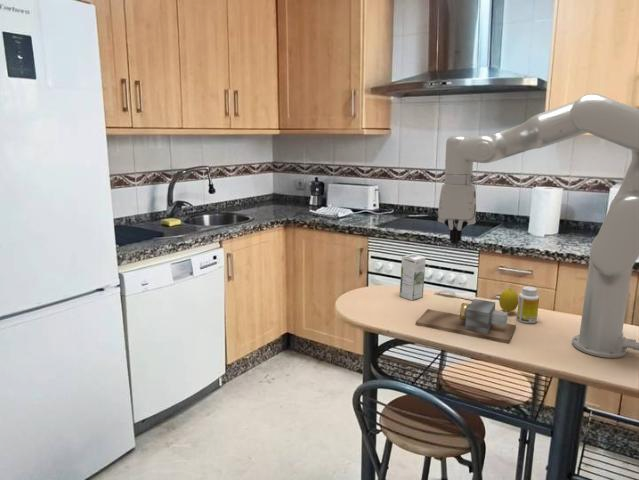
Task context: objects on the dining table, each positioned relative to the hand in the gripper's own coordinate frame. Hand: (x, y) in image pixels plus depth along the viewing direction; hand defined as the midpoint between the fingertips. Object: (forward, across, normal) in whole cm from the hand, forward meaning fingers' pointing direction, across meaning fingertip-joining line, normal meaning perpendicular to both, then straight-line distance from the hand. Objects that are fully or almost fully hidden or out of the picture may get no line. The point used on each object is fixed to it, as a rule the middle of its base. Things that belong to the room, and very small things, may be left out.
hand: (455, 242), depth 145 cm
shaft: (+22, -10, +4) cm, 24 cm away
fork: (+24, +1, -20) cm, 32 cm away
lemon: (+24, -14, -13) cm, 31 cm away
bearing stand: (+24, -5, +4) cm, 25 cm away
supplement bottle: (+24, -20, -9) cm, 33 cm away
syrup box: (+23, +17, -13) cm, 32 cm away
